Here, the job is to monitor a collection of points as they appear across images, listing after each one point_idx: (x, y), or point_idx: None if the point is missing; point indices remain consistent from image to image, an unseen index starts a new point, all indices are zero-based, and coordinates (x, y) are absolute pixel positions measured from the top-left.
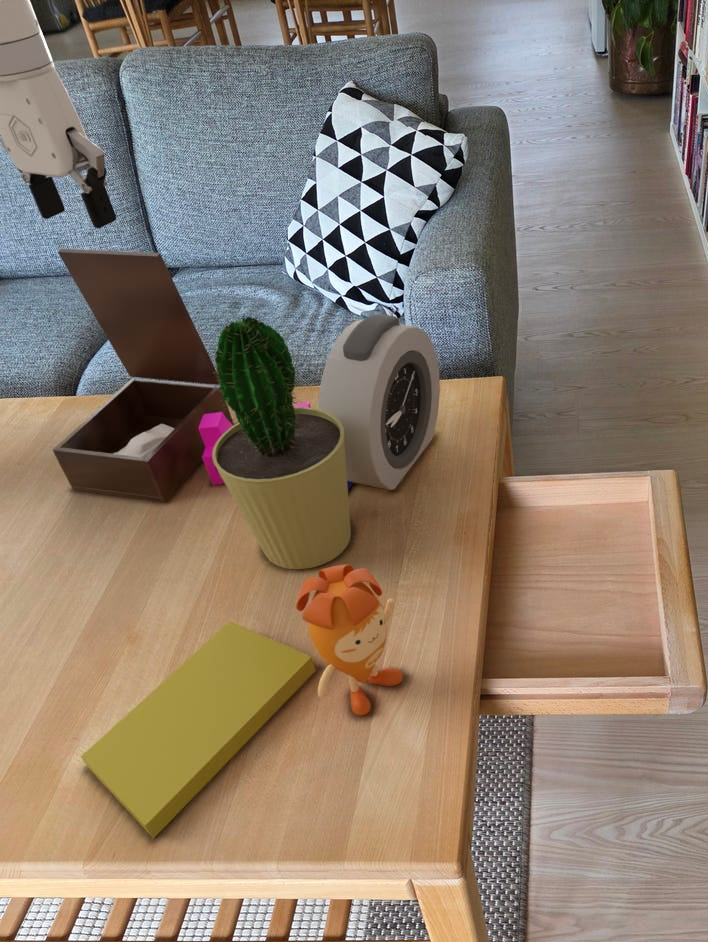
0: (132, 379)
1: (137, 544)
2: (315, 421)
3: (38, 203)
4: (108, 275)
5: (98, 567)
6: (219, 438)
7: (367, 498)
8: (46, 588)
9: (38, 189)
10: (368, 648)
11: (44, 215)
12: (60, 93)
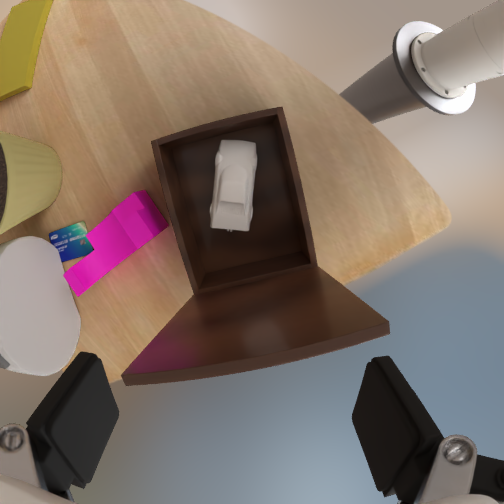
0: (314, 265)
1: (146, 93)
2: None
3: (395, 389)
4: (273, 331)
5: (156, 58)
6: (6, 158)
7: None
8: (179, 24)
9: (401, 440)
10: None
11: (379, 364)
12: None
